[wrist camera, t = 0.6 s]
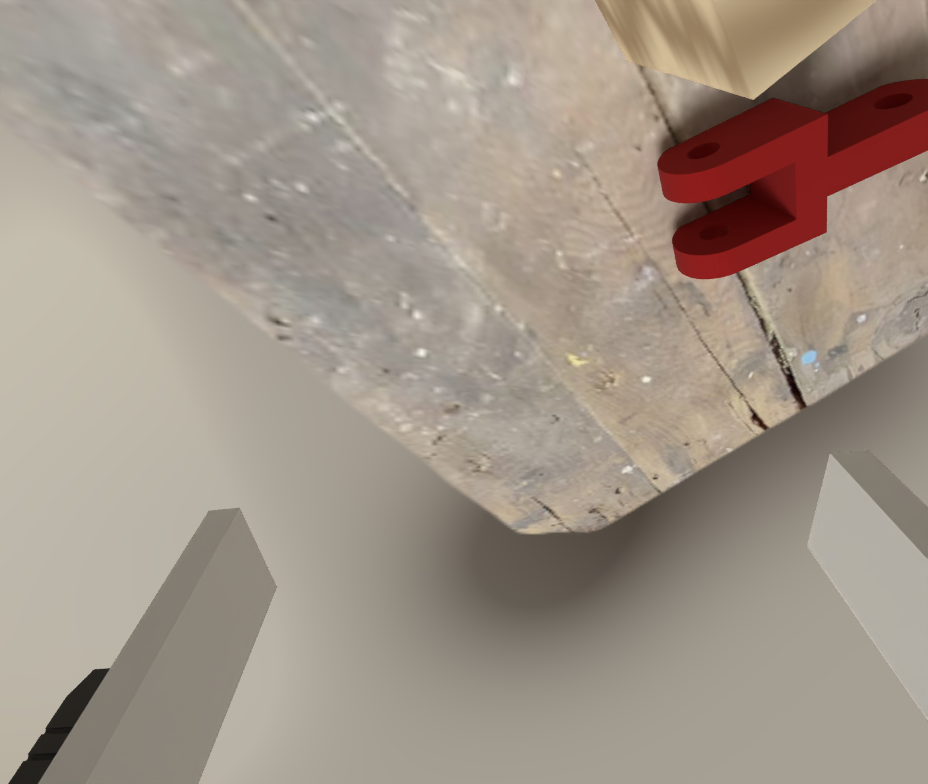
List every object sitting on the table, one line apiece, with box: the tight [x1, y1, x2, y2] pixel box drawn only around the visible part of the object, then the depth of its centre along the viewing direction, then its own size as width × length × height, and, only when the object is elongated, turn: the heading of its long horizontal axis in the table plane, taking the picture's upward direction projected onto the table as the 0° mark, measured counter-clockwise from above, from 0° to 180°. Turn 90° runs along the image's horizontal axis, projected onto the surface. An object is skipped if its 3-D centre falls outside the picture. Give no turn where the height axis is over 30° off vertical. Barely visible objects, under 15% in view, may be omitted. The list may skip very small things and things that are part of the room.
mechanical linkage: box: [658, 79, 928, 279], centre depth 32 cm, size 16×7×5 cm, turn 114°
